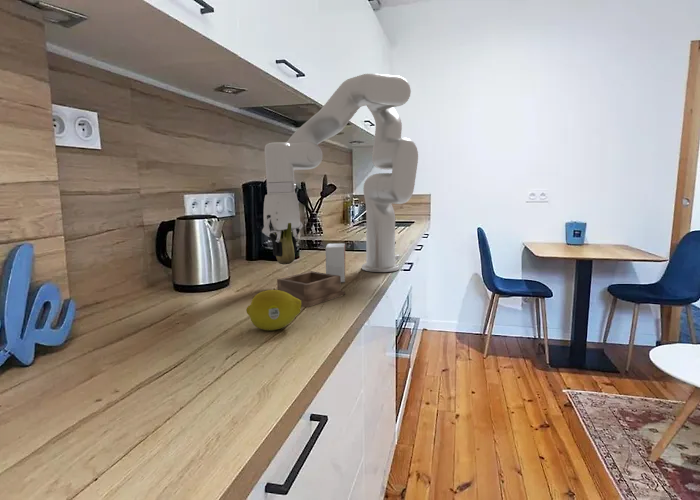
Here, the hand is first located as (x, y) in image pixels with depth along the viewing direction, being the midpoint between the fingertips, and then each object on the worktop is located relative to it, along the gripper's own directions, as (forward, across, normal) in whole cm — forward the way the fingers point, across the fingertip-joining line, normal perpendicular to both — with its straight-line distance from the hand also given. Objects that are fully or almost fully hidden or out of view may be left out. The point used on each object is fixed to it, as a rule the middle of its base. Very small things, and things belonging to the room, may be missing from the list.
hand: (285, 253), depth 120 cm
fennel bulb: (+3, 0, 0) cm, 3 cm away
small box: (+10, -14, +7) cm, 18 cm away
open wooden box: (+9, +5, +14) cm, 17 cm away
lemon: (+9, +27, +25) cm, 38 cm away
